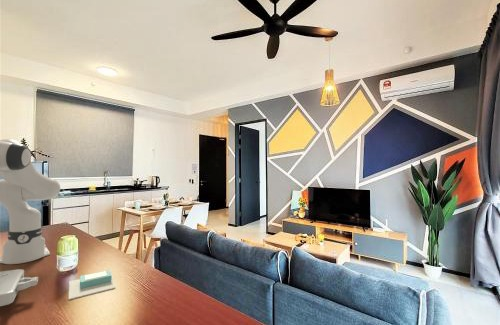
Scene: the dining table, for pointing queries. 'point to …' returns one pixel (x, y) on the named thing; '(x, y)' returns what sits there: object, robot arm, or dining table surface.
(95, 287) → the mat
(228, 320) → the dining table surface
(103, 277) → the slab
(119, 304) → the dining table surface
